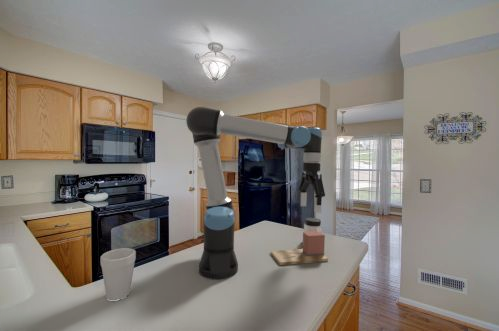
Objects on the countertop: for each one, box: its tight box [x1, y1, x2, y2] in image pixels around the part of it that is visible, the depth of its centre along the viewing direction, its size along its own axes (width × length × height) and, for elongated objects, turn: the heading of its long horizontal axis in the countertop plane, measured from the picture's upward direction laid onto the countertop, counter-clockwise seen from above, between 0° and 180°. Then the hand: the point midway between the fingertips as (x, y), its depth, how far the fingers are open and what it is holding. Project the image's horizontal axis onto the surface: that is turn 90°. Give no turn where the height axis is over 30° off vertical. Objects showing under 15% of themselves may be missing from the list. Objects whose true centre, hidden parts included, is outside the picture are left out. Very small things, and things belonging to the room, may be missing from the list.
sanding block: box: [302, 231, 326, 256], centre depth 103 cm, size 8×5×9 cm, turn 102°
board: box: [270, 248, 329, 266], centre depth 102 cm, size 22×12×1 cm, turn 103°
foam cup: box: [100, 247, 137, 300], centre depth 71 cm, size 10×9×13 cm
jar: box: [303, 217, 322, 233], centre depth 122 cm, size 9×8×12 cm
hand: (310, 209), depth 104 cm, fingers open, 13 cm apart
